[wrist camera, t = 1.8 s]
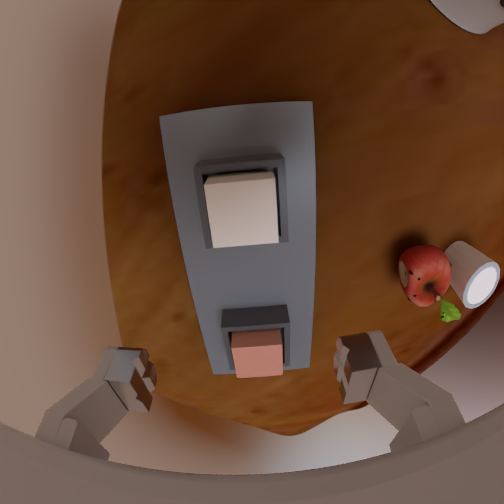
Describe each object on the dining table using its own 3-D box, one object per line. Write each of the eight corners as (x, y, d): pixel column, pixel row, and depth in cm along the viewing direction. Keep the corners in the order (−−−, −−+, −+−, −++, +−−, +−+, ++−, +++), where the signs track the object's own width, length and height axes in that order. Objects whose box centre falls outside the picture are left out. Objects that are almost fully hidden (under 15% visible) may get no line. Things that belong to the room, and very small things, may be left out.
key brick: (232, 327, 30) (231, 348, 27) (279, 324, 30) (282, 344, 27) (237, 358, 32) (237, 377, 30) (280, 355, 32) (282, 374, 29)
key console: (168, 115, 24) (148, 117, 19) (305, 102, 24) (321, 100, 19) (215, 358, 39) (211, 391, 34) (306, 351, 39) (312, 384, 34)
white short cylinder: (461, 280, 34) (486, 308, 28) (429, 278, 34) (455, 309, 28) (477, 239, 31) (507, 263, 25) (446, 233, 31) (478, 260, 24)
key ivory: (209, 175, 22) (203, 185, 20) (271, 169, 22) (275, 178, 20) (216, 232, 25) (213, 248, 22) (275, 227, 25) (278, 242, 22)
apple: (376, 271, 33) (411, 325, 24) (403, 223, 30) (450, 267, 21) (416, 286, 34) (452, 335, 26) (442, 244, 31) (487, 287, 23)
